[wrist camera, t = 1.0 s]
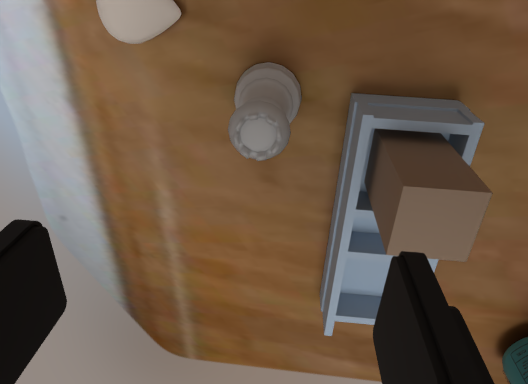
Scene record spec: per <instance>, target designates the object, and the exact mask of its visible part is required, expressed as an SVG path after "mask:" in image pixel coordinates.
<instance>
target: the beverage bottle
mask: <svg viewBox="0 0 528 384" xmlns="http://www.w3.org/2000/svg"><path fill="white" fill-rule="evenodd" d="M502 362H503V369H504V372H505V374H506V377H507V379H508V381H509V383H510V384H528V337H526V338H523V339H521V340H519V341H517V342H515V343H514V344H512V345H511V346H510V347H509V348H508V349H507V350H506V352H505V353H504V355H503V359H502ZM503 374H504V373H503ZM508 381H507V382H508ZM509 383H508V384H509Z"/></svg>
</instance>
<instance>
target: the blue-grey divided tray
mask: <svg viewBox="0 0 528 384" xmlns="http://www.w3.org/2000/svg"><path fill="white" fill-rule="evenodd" d="M483 126H484V122H482V121H481V120H480V119H479V118H477V117H476V116H475V115H474V114H473V113H471V112H470V109H469V108H468V107H466V106H465V105H464V104H463V103H461V102H460V101H459V100H445V99H430V98H416V97H401V96H386V95H372V94H357V93H351V99H350V105H349V112H348V118H347V125H346V131H345V137H344V144H343V150H342V156H341V163H340V169H339V175H338V182H337V188H336V195H335V201H334V207H333V214H332V220H331V226H330V233H329V239H328V245H327V252H326V258H325V265H324V271H323V277H322V284H321V290H320V306H321V311H323V325H324V335H328V336H332V332H333V327H334V322H335V321H340V322H350V323H361V324H371V325H374V324H375V320H376V316H377V312H378V308H379V305H380V301H381V297H382V293H383V289H384V285H385V281H386V278H387V274H388V270H389V266H390V262H391V259H392V257H393V256H399V254H400V252H401V251H407V252H420V253H424V254H425V255H426V257H427V259H428V261H429V263H430V265H431V268H432V270H433V272H434V271H435V268H436V265H437V263H438V260H450V261H462V262H466V261H467V259H468V256H469V254H470V251H471V248H472V246H473V243H474V241H475V238H476V235H477V233H478V230H479V227H480V225H481V222H482V220H483V217H484V214H485V212H486V209H487V207H488V204H489V201H490V199H491V196H492V194H493V193H492V192H491V191H490V189H489V188H488V187H487V186H486V185H485V184H484V183H483V181H482V180H481V179H480V178H479V177H478V176H477V174H476V173H475V172H474V171H473V170H472V169H471V168H470V165H471V162H472V159H473V156H474V153H475V150H476V147H477V144H478V141H479V138H480V135H481V132H482V129H483Z"/></svg>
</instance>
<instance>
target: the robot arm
mask: <svg viewBox="0 0 528 384" xmlns="http://www.w3.org/2000/svg"><path fill="white" fill-rule="evenodd" d="M66 302H67V300H66V296H65V292H64V288H63V284H62V281H61V277H60V273H59V270H58V266H57V262H56V259H55V255H54V251H53V248H52V244H51V241H50V237H49V233H48V230H47V229H46V228H45V227H43V226H42V224H41V223H40V222H38V221H29V220H14V221H12V222H11V223H10V224H8V225H7V226H6V227H5V228H4V229H3V230H2V231H1V232H0V384H15V382H16V381H17V379H18V378H19V376H20V375H21V373H22V372H23V371H24V369H25V368H26V366H27V365H28V363H29V362H30V360H31V359H32V358H33V356H34V355H35V353H36V352H37V350H38V349H39V347H40V346H41V344H42V343H43V342H44V340H45V338H46V337H47V336H48V334H49V333H50V331H51V330H52V328H53V327H54V326H55V324H56V323H57V321H58V320H59V318H60V317H61V315H62V314H63V312H64V310H65V308H66ZM373 340H374V345H375V350H376V355H377V360H378V365H379V370H380V375H381V380H382V384H494V382H493V380H492V378H491V376H490V374H489V372H488V369H487V367H486V365H485V363H484V361H483V359H482V357H481V355H480V353H479V350H478V348H477V346H476V344H475V342H474V340H473V338H472V336H471V334H470V332H469V329H468V327H467V325H466V323H465V321H464V319H463V317H462V315H461V313H460V311H459V310H458V309H457V308H456V307H453V306H448V303H447V301H446V299H445V297H444V294H443V292H442V290H441V288H440V285H439V283H438V281H437V279H436V277H435V274H434V272H433V270H432V268H431V265H430V263H429V261H428V259H427V257H426V255H425V254H424V253H420V252H407V251H401V252H400V254H399V256H393V257H392V259H391V262H390V266H389V270H388V274H387V278H386V281H385V285H384V289H383V293H382V297H381V301H380V305H379V308H378V312H377V316H376V320H375V324H374V328H373Z"/></svg>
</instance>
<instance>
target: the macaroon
mask: <svg viewBox="0 0 528 384" xmlns="http://www.w3.org/2000/svg"><path fill="white" fill-rule="evenodd" d="M96 3H97V8H98V13H99V16H100V18H101V20H102V22H103V25H104V26H105V28H106V29H107V31H108V32H109V33H110V34H111V35H112V36H113V37H115V38H116V39H117V40H119V41H123V42H126V43H129V44H140V43H143V42H145V41H148V40H150V39H152V38H154V37H156V36H157V35H159V34H161V33H162V32H164V31H165V30H166V29H168V28H169V27H170V26H171V25H173V24H174V23H175V22H176V21H177V20H178V19H179V18H180V16H181V11H180V9H179V7H178V6H177V5H176V3H175V2H174V1H173V0H96Z"/></svg>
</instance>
